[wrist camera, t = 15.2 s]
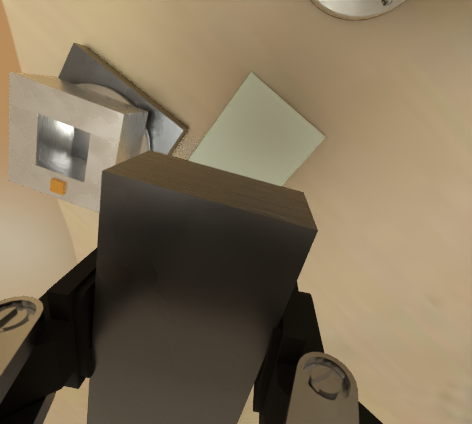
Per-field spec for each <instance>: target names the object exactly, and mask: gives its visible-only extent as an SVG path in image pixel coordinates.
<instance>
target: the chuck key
mask: <svg viewBox="0 0 472 424" xmlns="http://www.w3.org/2000/svg"><path fill="white" fill-rule="evenodd" d="M317 231H318V230H317V227H316V224H315V222H314V219H313V216H312V214H311V211H310V208H309V206H308V203H307V201H306V198H305V195H304V193H303V192H300V191H296V190H293V189H289V188H286V187H282V186H278V185H275V184H271V183H267V182H264V181H260V180H257V179H253V178H249V177H246V176H242V175H239V174H235V173H231V172H228V171H224V170H220V169H217V168H213V167H210V166H206V165H202V164H199V163H195V162H192V161H188V160H184V159H181V158H177V157H173V156H170V155H166V154H163V153H159V152H155V151H152V150H149V151H146V152H144V153H142V154H139V155H137V156H135V157H132V158H130V159H128V160H126V161H123V162H121V163H119V164H116V165H114V166H112V167H109V168H107V169H105V170H103V171H102V179H101V195H100V212H99V229H98V246H97V263H96V279H95V296H94V313H93V330H92V347H91V361H92V372H93V375H92V376H91V377H90V380H89V397H88V414H87V424H237V423H238V420H239V418H240V415H241V413H242V411H243V408H244V406H245V404H246V401H247V399H248V396H249V394H250V392H251V389H252V387H253V384H254V382H255V380H256V377H257V375H258V372H259V370H260V368H261V365H262V363H263V360H264V358H265V356H266V353H267V351H268V347H269V343H270V339H271V335H272V331H273V328H277V327H278V325H279V322H280V320H281V317H282V315H283V313H284V310H285V308H286V305H287V303H288V301H289V298H290V296H291V293H292V291H293V289H294V286H295V284H296V282H297V279H298V277H299V274H300V272H301V270H302V267H303V265H304V262H305V260H306V258H307V255H308V253H309V250H310V248H311V246H312V243H313V241H314V238H315V236H316V234H317Z"/></svg>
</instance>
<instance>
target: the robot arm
mask: <svg viewBox="0 0 472 424" xmlns="http://www.w3.org/2000/svg"><path fill="white" fill-rule="evenodd" d="M311 1H312V2H313V3H314V4H315V5H316V6H317V7H319V8H320V9H321V10H323V11H324V12H326V13H327V14H330V15H332V16H335V17H338V18H340V19H348V20H362V19H369V18H372V17H376V16H379V15H382V14H384V13H386V12H388V11H390V10H392V9H394V8H396V7H397V6H398V5H400V4H401V3H403V2H404V1H406V0H385V2H386V4H385V6H383V5H382V3H381V1H382V0H311ZM96 263H97V248H96V249H95V250H94V251H93V252H91V253H90V254H89V255H88V256H87V257H86V258H84V259H83V260H82V261H81V262H80V263H79V264H77V265H76V266H75V267H74V268H73V269H72V270H71V271H69V272H68V273H67V274H66V275H65V276H64V277H62V278H61V279H60V280H59V281H58V282H57V283H55V284H54V285H53V286H52V287H51V288H50V289H49V290H47V292H46V293H45V294H44V295H43V296H42V297H40V298H39V299H36V298H34V297H27V296H22V297H13V298H9V299H4V300H2V301H0V424H43V422H44V420H45V417H46V415H47V413H48V411H49V408H50V406H51V404H52V402H53V399H54V397H55V393H56V391H58V390H60V389H62V387H63V386H67V387H72V388H76V389H79V387H80V386H81V384H82V383H83V381H84V380H85V378H86V377H87V378H90V377H91V376H92V375H93V372H92V361H91V347H92V330H93V313H94V296H95V279H96ZM253 411H254V412H259V424H383V423H382V422H381V421H379V420H378V419H377V418H376V417H375V416H374V415H373V414H372V413H371V412H370V411H369V410H367V409H366V408H365V407H364V406H363V405H362V404H361V403H360V402H359V401H358V389H357V384H356V381H355V379H354V377H353V375H352V373H351V372H350V371H349V369H348V368H347V367H346V366H345V365H344V364H343V363H342V362H340V361H339V360H338V359H336V358H334V357H333V356H331V355H329V354H325V353H324V349H323V345H322V340H321V336H320V331H319V327H318V322H317V318H316V313H315V309H314V304H313V300H312V296H311V294H310V293H304V292H299V291H298V285H297V282H296V284H295V286H294V289H293V291H292V293H291V296H290V298H289V301H288V303H287V305H286V308H285V310H284V313H283V315H282V317H281V320H280V322H279V325H278V327H277V328H273V331H272V335H271V339H270V343H269V347H268V351H267V353H266V356H265V358H264V360H263V363H262V365H261V368H260V370H259V372H258V375H257V377H256V380H255V382H254V397H253Z"/></svg>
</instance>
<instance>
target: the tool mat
mask: <svg viewBox="0 0 472 424" xmlns="http://www.w3.org/2000/svg"><path fill="white" fill-rule="evenodd" d="M325 138H326V137H325V136H324V135H323V134H322V133H320V132H319V131H318V130H317V129H316V128H315V127H314V126H312V125H311V124H310V123H309V122H308V121H307V120H306V119H304V118H303V117H302V116H301V115H300V114H299V113H298V112H296V111H295V110H294V109H293V108H292V107H291V106H290V105H289V104H287V103H286V102H285V101H284V100H283V99H282V98H281V97H279V96H278V95H277V94H276V93H275V92H274V91H273V90H271V89H270V88H269V87H268V86H267V85H266V84H265V83H263V82H262V81H261V80H260V79H259V78H258V77H257V76H255V75H254V74H253V73H252V72H251V73H250V74H249V76H248V77H247V78H246V80H245V81H244V83H243V84H242V85H241V87H240V88H239V90H238V91H237V92H236V94H235V95H234V97H233V98H232V99H231V101H230V102H229V104H228V105H227V106H226V108H225V109H224V111H223V112H222V113H221V115H220V116H219V118H218V119H217V120H216V122H215V123H214V125H213V126H212V127H211V129H210V130H209V132H208V133H207V134H206V136H205V137H204V139H203V140H202V142H201V143H200V144H199V146H198V147H197V149H196V150H195V151H194V153H193V154H192V156H191V157H190V158H189V160H188V161H192V162H195V163H199V164H202V165H206V166H210V167H213V168H217V169H220V170H224V171H228V172H231V173H235V174H239V175H242V176H246V177H249V178H253V179H257V180H260V181H264V182H267V183H271V184H275V185H278V186H282V185H283V184H284V183H285V182H286V181H287V180H288V179H289V177H290V176H291V175H292V174H293V173H294V172H295V171H296V170H297V169H298V167H299V166H300V165H301V164H302V163H303V162H304V161H305V160H306V159H307V158H308V156H309V155H310V154H311V153H312V152H313V151H314V150H315V149H316V148H317V147H318V145H319V144H320V143H321V142H322V141H323V140H324V139H325Z"/></svg>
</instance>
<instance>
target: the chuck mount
mask: <svg viewBox="0 0 472 424" xmlns="http://www.w3.org/2000/svg"><path fill="white" fill-rule="evenodd" d="M59 79H62V80H65V81H67V82H70V83H73V84H97V85H102V86H106V87H109V88H111V89H113V90H115V91H117V92H118V93H120V94H122V95H123V96H124V97H125V98H127V99H128V100H129V101H130V102H131V103H132V104H133V105H134V106H135V107H137V108H140V109H142V110H145V111H148V116H147V121H146V127H147V130H148V134H149V139H150V150H152V151H155V152H159V153H163V154H166V155H171V154H172V152H173V151H174V149H175V148H176V146H177V145H178V143H179V142H180V140H181V139H182V137H183V136H184V134H185V133H186V132H187V130H188V129H189V128H188V127H186V126H185V125H184V124H183V123H181V122H180V121H179V120H178V119H176V118H175V117H174V116H173V115H171V114H170V113H169V112H168V111H166V110H165V109H164V108H163V107H161V106H160V105H159V104H158V103H156V102H155V101H154V100H153V99H151V98H150V97H149V96H148V95H146V94H145V93H144V92H143V91H141V90H140V89H139V88H138V87H136V86H135V85H134V84H133V83H131V82H130V81H129V80H128V79H126V78H125V77H124V76H123V75H121V74H120V73H119V72H118V71H116V70H115V69H114V68H113V67H111V66H110V65H109V64H108V63H106V62H105V61H104V60H103V59H101V58H100V57H99V56H98V55H96V54H95V53H94V52H93V51H91V50H90V49H89V48H88V47H86V46H83V45H80V44H76V43H73V46H72V48H71V50H70V53H69V55H68V57H67V59H66V62H65V64H64V66H63V69H62V71H61V73H60V75H59Z"/></svg>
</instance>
